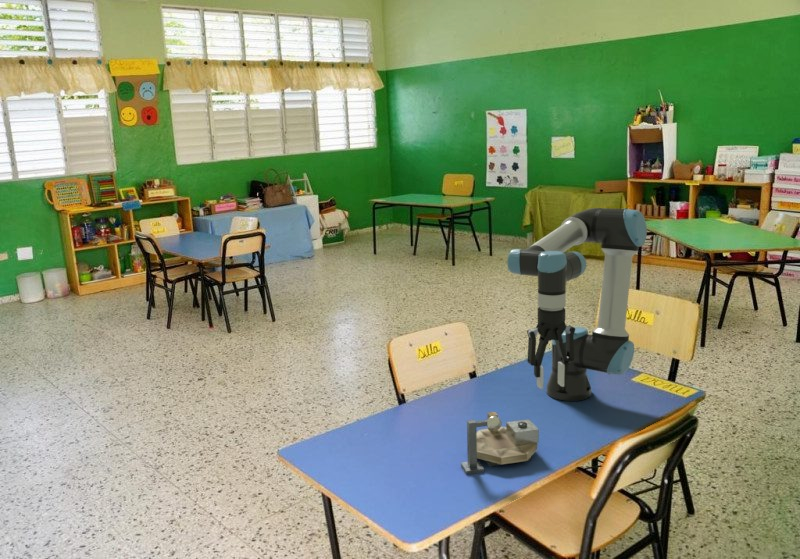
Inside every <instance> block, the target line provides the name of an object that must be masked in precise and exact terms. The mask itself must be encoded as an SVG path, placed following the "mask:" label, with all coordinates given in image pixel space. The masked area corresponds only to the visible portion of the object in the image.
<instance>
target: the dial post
mask: <svg viewBox="0 0 800 559" xmlns="http://www.w3.org/2000/svg"><path fill="white" fill-rule="evenodd" d="M482 427H487V429H489V430H491V431H497V430H498V429H500V427H502V420H501V419H500V417H499V416H498V417H497V416H491V417H489V418H487V419H484V420H483V419H482V420H475V419H467V420H466V435H467V436H466V440H467V442H466V443H467V445H466V446H467V461H462V462H460V467H461V468H462V470H463V471H464V473H465V475H473V474H479V473H484V472H485V468H484V466H483V465H482V464H481V461H479V459H478V458H477V432H478V431H477V428H482Z"/></svg>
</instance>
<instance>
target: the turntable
mask: <svg viewBox="0 0 800 559" xmlns="http://www.w3.org/2000/svg"><path fill="white" fill-rule="evenodd" d="M491 416H497V417H498V418H499V414H497V412H496V411H491V412H487V417H486V418H487V419H488V418H489V417H491ZM537 451H538V443H531V444H524V445H516V446H515V445H514V443H513V442H512V441H511V440H510V439H509V438H508V436H507V435H506V426H501V427H500V429H498V430H497V431H491V430H489V429H488V428H484V429H479V430H478V431H477V460H482V461H485V460H486V461H490V462H494V463H498V464H503V465H509V464H508V463H510V464H516V463H515V462H517V463H523V462H522V461H524V462H528V461H527V460H528V459H529V458H530V457H532V456H533V455H534V454H535V453H536V452H537ZM486 461H485V462H486Z"/></svg>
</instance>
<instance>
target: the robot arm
mask: <svg viewBox="0 0 800 559" xmlns="http://www.w3.org/2000/svg"><path fill="white" fill-rule="evenodd" d="M647 234H648V232H647V222H646V218H645V216H644V214H643V213H642V211H639V210H637V209H630V208H605V207H603V208H602V207H592V208H588V209H585V210H581V211H579V212H576V213H574V214H573V215H570V216H569V217H567V218H565V219H564V220H563V221H562V222H561V224H560V226H558V227H557V228H556V229H554V230H552V231H551V232H550V233H548V234H547V235H545V236H544V237H541V238H540V239H539V240H537V241H536V242H535V243H533V244H532V245H530V246H528V247H527V248H525V249H524V248H523V249H522V248H513V249H511V250H510V252H509V253H508V256H507V260H506V261H507V262H506V264H507V269H508V271H509V272H510V273H512V274H516V275H520V276H530V277H537V306H538V308H537V325H536V327H535V328H533V329H527V330H526V332H527V336H528V341H527V342H528V344H527V345H528V347H527V363H528V364H529V365H530V366H532V367H533V376H534V377H536V386H537V388H538V389H540V390H544V366H543V365H542V362H543V359H544V355H545V353H546V349H547V346H548V344H549V342H551V373H550V375H549V377H548V378H549V379H547V384H546V394H547V395H548V396H549V397H551V398H552V399H556V400H558V401H564V402H565V401H566V402H578V401H579V400H580V401H584V399H585V400H587V399H589V398H590V397H591V396H592V386H591V382H590V380H589V377H588V373H587V370H590V371H596V372H600V373H604V374H605V373H606V374H607V375H616V376H621V375H624V374H625V373H626V372H627V371H628V369H629V368H630V366H631V363H632V361H633V358H634V355H635V344H634V342H633V341H631V340H630V339H629V338H630V334H629V333H628V331H627V330H626V321H627V314H628V313H627V311H628V304H629V303H628V302H629V293H630V283H631V282H630V281H631V275H632V266H633V265H632V264H633V257H634V256H635V255H636V254H638V253H639V247H643V246H644V245H645V244H646V240H647V237H648V236H647ZM583 243H596V244H601V246H600V250H601V251H602V252H603V253H604V262H603V263H604V264H603V272H602V281H601V290H600V292H601V293H600V300H599V301H600V302H599V312H598V319H597V320H598V322H597V326H596V327H594V328H593V329H592V334H589V331H588V329H587V328H586V327H584V326H583V327H582V326H572V325H567V324H566V308H565V307H566V299H567V298H566V295H567V294H566V292H567V290H566V288H567V282H569V281H571V280H574V279H578V277H580V276H581V275H582V274H584V273H585V271H586V269H587V261H586V258H585V256H584V255H583V254H582V253H581V252H579V251H568V250H570V249H571V248H573V247H574V246H579V245H582V244H583ZM538 334H539V339H538V345H537V337H538ZM588 397H589V398H588Z"/></svg>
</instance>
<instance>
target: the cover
mask: <svg viewBox="0 0 800 559" xmlns="http://www.w3.org/2000/svg"><path fill="white" fill-rule="evenodd" d="M505 427H506V435H507V436H508V438H509V439H510V440H511V441H512V442H513V443H514V445H515V446H516V445H524V444H531V443H537V444H538V443H539V442H540V439H539V438H540V437H539V436H540V434H539V433H540V429H539V428H538V427H537V426H536V425H535V424H534V423H533V422H532V421H531V420H530V419H522V420H514V421H513V420H512V421H506V423H505Z"/></svg>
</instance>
